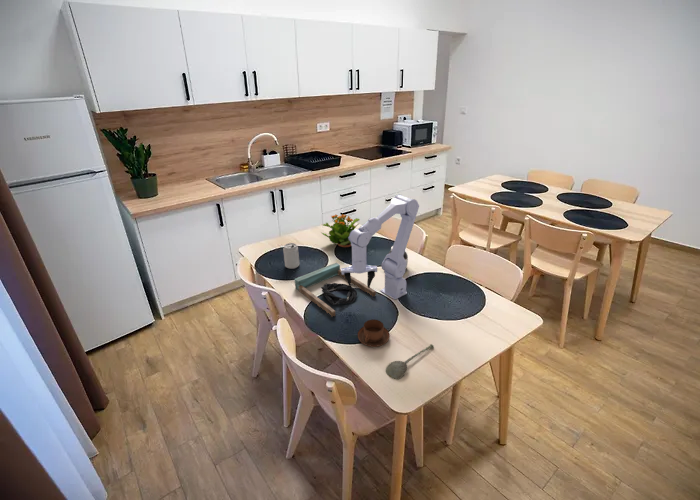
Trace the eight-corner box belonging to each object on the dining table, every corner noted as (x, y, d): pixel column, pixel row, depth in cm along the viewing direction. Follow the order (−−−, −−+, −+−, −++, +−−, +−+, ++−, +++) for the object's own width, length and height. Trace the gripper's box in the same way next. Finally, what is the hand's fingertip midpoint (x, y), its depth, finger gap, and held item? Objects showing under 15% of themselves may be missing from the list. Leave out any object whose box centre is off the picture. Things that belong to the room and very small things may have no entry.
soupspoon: (381, 373, 121) (395, 385, 116) (381, 366, 119) (395, 378, 114) (425, 343, 132) (439, 353, 128) (426, 336, 130) (440, 346, 126)
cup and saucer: (387, 351, 128) (388, 338, 126) (354, 347, 131) (354, 334, 128) (391, 330, 139) (391, 317, 136) (360, 326, 141) (360, 314, 138)
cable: (316, 291, 165) (315, 283, 163) (342, 282, 171) (342, 274, 170) (334, 309, 152) (333, 301, 150) (362, 299, 158) (362, 291, 156)
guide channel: (375, 295, 160) (375, 286, 158) (332, 317, 147) (332, 307, 145) (336, 271, 180) (336, 262, 178) (295, 288, 167) (294, 278, 165)
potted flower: (374, 241, 211) (374, 213, 203) (353, 257, 193) (352, 227, 186) (339, 233, 223) (338, 206, 216) (316, 247, 205) (314, 219, 198)
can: (298, 269, 183) (296, 248, 178) (283, 269, 183) (281, 248, 178) (300, 262, 190) (298, 242, 184) (286, 262, 190) (284, 242, 184)
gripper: (375, 252, 147) (375, 281, 153) (340, 255, 146) (341, 283, 152) (378, 260, 141) (377, 290, 147) (341, 263, 140) (342, 292, 146)
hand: (359, 287), depth 149 cm, fingers open, 7 cm apart
